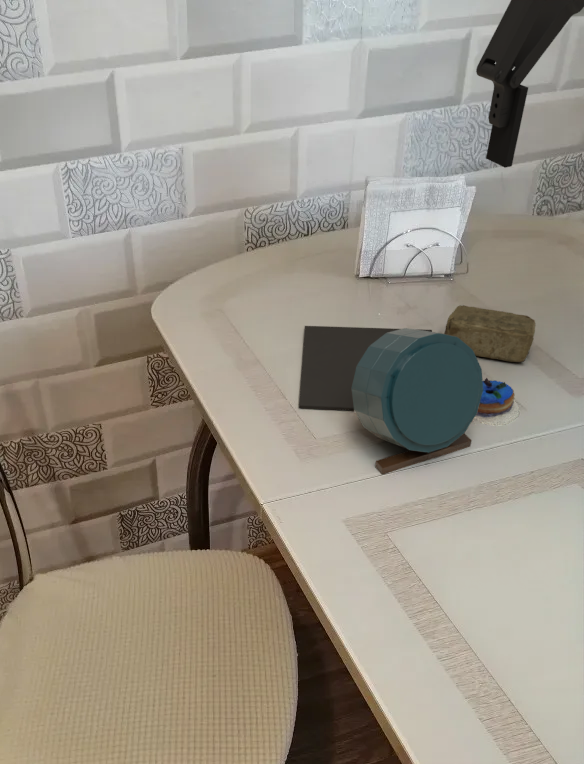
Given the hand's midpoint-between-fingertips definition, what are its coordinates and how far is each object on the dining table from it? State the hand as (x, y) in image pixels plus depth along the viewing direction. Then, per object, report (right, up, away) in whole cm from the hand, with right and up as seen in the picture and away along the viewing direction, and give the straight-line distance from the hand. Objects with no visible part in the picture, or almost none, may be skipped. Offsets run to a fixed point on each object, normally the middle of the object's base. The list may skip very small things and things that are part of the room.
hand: (558, 150), depth 74 cm
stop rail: (-8, -28, +18) cm, 34 cm away
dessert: (+2, -22, +25) cm, 33 cm away
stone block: (+5, -12, +36) cm, 38 cm away
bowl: (-8, -21, +13) cm, 26 cm away
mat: (-11, -15, +33) cm, 38 cm away
